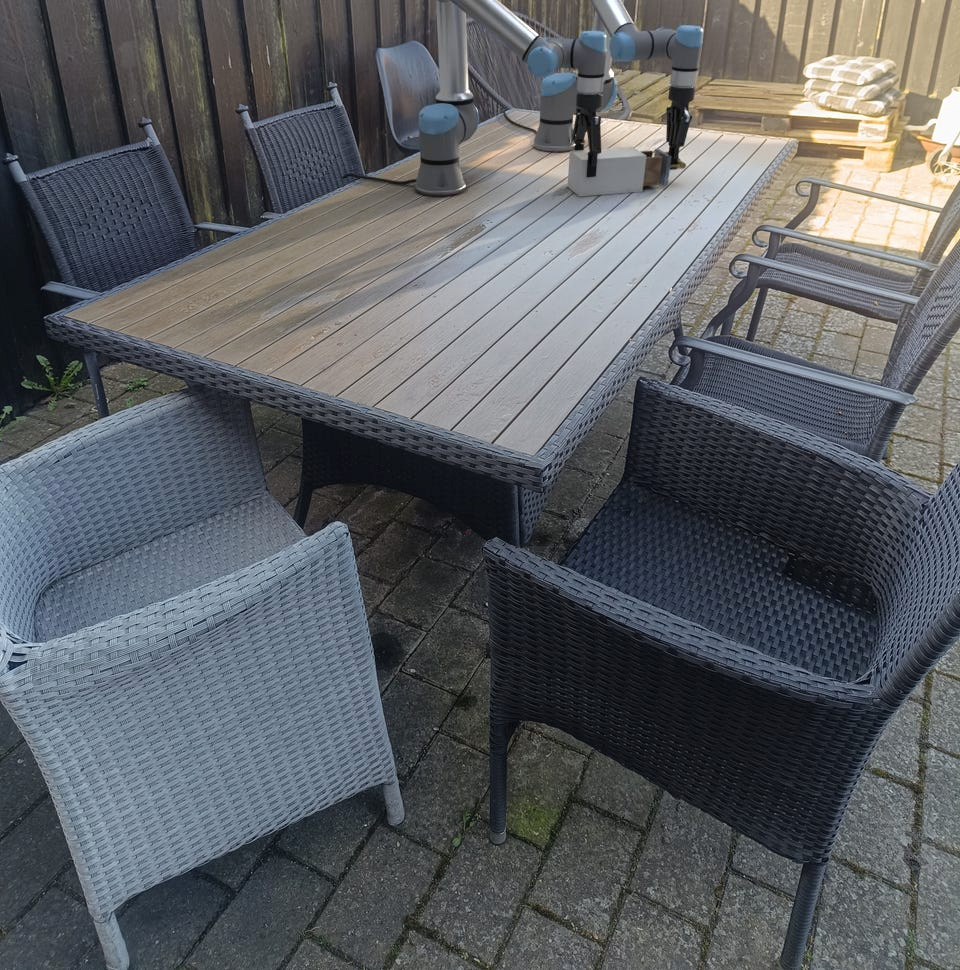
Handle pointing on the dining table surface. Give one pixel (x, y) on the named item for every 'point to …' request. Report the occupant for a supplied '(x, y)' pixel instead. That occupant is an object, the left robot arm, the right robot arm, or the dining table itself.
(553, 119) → the right robot arm
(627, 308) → the dining table surface
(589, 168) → the left robot arm
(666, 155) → the drawer
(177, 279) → the dining table surface
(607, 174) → the grey rectangular block
